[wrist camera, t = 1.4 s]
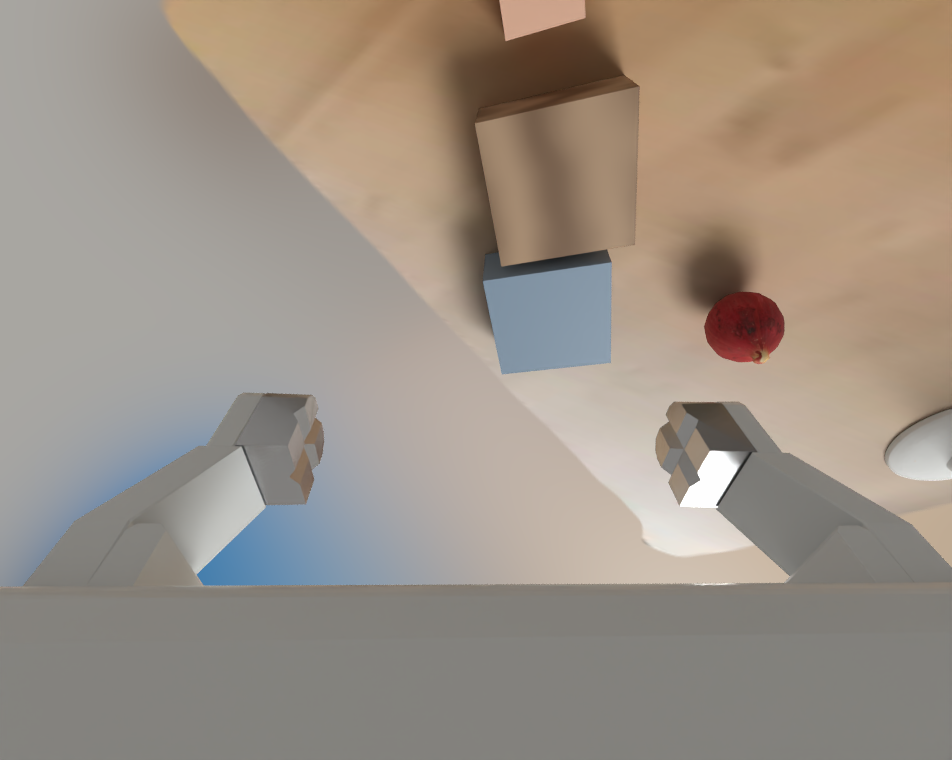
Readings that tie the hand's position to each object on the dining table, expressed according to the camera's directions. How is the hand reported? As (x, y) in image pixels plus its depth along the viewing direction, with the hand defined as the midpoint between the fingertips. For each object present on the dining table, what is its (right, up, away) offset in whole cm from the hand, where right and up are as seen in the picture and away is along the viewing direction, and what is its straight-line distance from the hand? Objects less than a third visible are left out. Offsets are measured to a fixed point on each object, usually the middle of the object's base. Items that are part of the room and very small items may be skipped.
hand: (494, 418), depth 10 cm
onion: (+23, +8, +30) cm, 39 cm away
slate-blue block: (+6, +9, +31) cm, 33 cm away
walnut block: (+6, +17, +23) cm, 30 cm away
